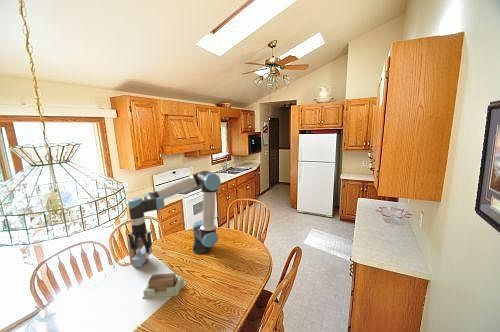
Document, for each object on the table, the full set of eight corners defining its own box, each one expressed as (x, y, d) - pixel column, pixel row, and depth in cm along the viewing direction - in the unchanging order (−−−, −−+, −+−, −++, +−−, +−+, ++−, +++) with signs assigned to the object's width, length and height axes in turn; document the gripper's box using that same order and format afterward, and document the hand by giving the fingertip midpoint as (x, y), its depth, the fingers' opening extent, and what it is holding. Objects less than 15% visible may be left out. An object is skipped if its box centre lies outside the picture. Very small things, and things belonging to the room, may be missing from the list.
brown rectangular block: (153, 284, 128) (152, 274, 127) (176, 282, 130) (175, 272, 128) (149, 292, 123) (148, 281, 121) (173, 290, 124) (172, 279, 122)
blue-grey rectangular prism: (145, 251, 138) (144, 244, 137) (152, 251, 138) (151, 244, 137) (133, 267, 122) (131, 259, 122) (140, 266, 123) (139, 259, 122)
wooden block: (149, 261, 153) (146, 236, 150) (134, 268, 146) (131, 242, 143) (144, 256, 160) (141, 232, 157) (130, 262, 153) (126, 237, 149)
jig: (151, 282, 132) (150, 276, 131) (183, 279, 133) (182, 274, 133) (142, 298, 119) (141, 292, 119) (177, 295, 121) (177, 289, 120)
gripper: (119, 226, 122) (125, 262, 126) (150, 225, 123) (154, 260, 127) (126, 221, 130) (131, 255, 134) (155, 219, 130) (159, 253, 134)
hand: (143, 257), depth 130 cm, fingers closed on blue-grey rectangular prism, 4 cm apart
